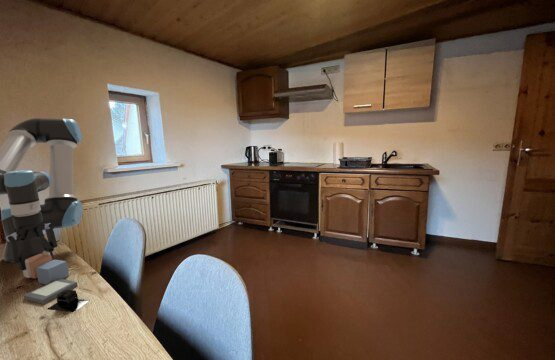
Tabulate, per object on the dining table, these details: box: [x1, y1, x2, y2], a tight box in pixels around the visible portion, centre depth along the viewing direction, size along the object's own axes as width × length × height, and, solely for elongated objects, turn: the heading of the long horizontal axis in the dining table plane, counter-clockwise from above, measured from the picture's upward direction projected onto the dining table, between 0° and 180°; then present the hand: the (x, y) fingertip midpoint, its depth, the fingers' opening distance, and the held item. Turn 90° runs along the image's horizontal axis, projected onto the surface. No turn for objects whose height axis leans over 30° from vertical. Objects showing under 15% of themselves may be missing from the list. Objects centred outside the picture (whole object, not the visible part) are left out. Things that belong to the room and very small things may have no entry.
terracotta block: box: [25, 254, 53, 279], centre depth 92 cm, size 6×6×6 cm
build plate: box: [46, 289, 90, 313], centre depth 75 cm, size 12×7×5 cm, turn 81°
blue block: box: [36, 259, 70, 285], centre depth 90 cm, size 6×6×6 cm
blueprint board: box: [23, 278, 79, 305], centre depth 82 cm, size 10×9×2 cm
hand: (38, 271), depth 93 cm, fingers closed on terracotta block, 6 cm apart
